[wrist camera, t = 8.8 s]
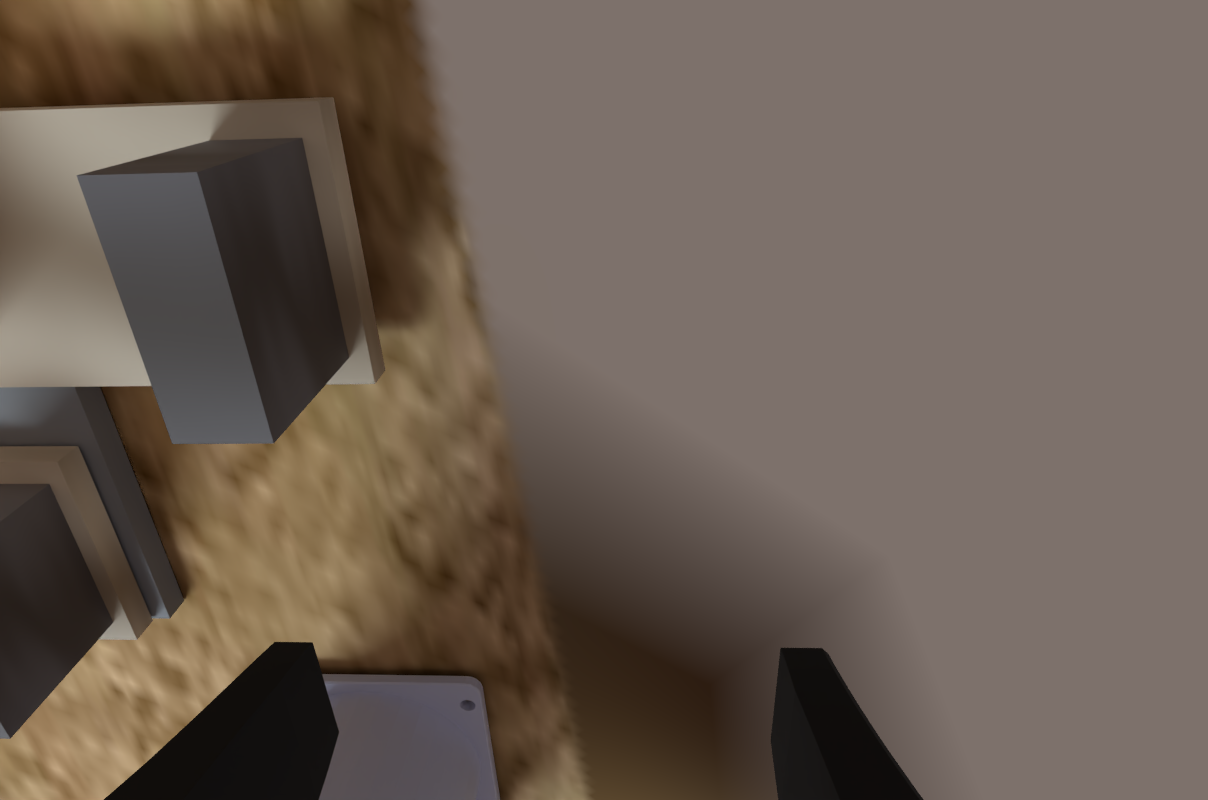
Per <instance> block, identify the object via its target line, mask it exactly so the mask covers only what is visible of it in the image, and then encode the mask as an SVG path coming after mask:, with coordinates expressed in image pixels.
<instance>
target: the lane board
mask: <svg viewBox="0 0 1208 800" xmlns="http://www.w3.org/2000/svg"><path fill="white" fill-rule="evenodd" d="M0 446H78V447H79V449H80V452H81V454H82V456H83V459H84V461H85V463H86V466H87V468H88V470H89V473H90V475H91V477H92V480H93V482H94V484H95V487H96V489H97V491H98V494H99V496H100V498H101V501H102V503H103V505H104V508H105V510H106V512H107V515H108V517H109V519H110V522H111V524H112V526H113V529H114V531H115V533H116V536H117V538H118V540H119V543H120V545H121V547H122V550H123V552H124V554H125V557H126V559H127V561H128V564H129V566H130V568H131V571H132V573H133V576H134V578H135V580H136V583H137V585H138V587H139V590H140V592H141V594H142V597H143V599H144V601H145V604H146V606H147V608H148V611H149V613H150V615H151V618H171V616H172V615H173V614H174V613H175V611H176V610H177V609H178V608H179V606H180V605H181V604H182V603H183V601H184V599H183V596H182V594H181V591H180V589H179V586H178V584H177V581H176V579H175V576H174V574H173V571H172V568H171V566H170V563H169V561H168V558H167V556H166V553H165V551H164V548H163V546H162V543H161V541H160V538H159V535H158V533H157V530H156V528H155V525H154V523H153V520H152V518H151V515H150V513H149V510H148V508H147V505H146V502H145V500H144V497H143V495H142V492H141V490H140V487H139V485H138V482H137V480H136V477H135V475H134V472H133V470H132V467H131V464H130V462H129V459H128V457H127V454H126V452H125V449H124V447H123V444H122V442H121V439H120V437H119V434H118V431H117V429H116V426H115V424H114V421H113V419H112V416H111V414H110V411H109V409H108V406H107V404H106V401H105V398H104V396H103V393H102V391H101V388H100V387H0Z"/></svg>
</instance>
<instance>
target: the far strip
mask: <svg viewBox="0 0 1208 800" xmlns="http://www.w3.org/2000/svg"><path fill="white" fill-rule="evenodd" d="M152 621H153V620H152V618H151V615H150V613H149V611H148V608H147V606H146V604H145V601H144V599H143V597H142V594H141V592H140V590H139V587H138V585H137V583H136V580H135V578H134V576H133V573H132V571H131V568H130V566H129V564H128V561H127V559H126V557H125V554H124V552H123V550H122V547H121V545H120V543H119V540H118V538H117V536H116V533H115V531H114V529H113V526H112V524H111V522H110V519H109V517H108V515H107V512H106V510H105V508H104V505H103V503H102V501H101V498H100V496H99V494H98V491H97V489H96V487H95V484H94V482H93V480H92V477H91V475H90V473H89V470H88V468H87V466H86V463H85V461H84V459H83V456H82V454H81V452H80V449H79V447H78V446H0V738H5V739H10V738H11V737H12V736H13V735H14V734H15V733H16V732H17V730H18V729H19V728H20V727H21V726H22V725H23V724H24V723H25V721H26V720H27V719H28V718H29V717H30V716H31V715H32V714H33V712H34V711H35V710H36V709H37V708H38V707H39V706H40V705H41V703H42V702H43V701H44V700H45V699H46V698H47V697H48V696H49V694H50V693H51V692H52V691H53V690H54V689H55V688H56V686H57V685H58V684H59V683H60V682H61V681H62V680H63V679H64V677H65V676H66V675H67V674H68V673H69V672H70V671H71V670H72V668H73V667H74V666H75V665H76V664H77V663H78V662H79V661H80V659H81V658H82V657H83V656H84V655H85V654H86V653H87V652H88V650H89V649H90V648H91V647H92V646H93V645H94V644H95V643H96V641H97V640H98V639H121V640H137V639H138V638H139V637H140V635H141V634H142V633H143V632H144V631H145V629H146V628H147V627H148V626H149V624H150V623H151V622H152Z"/></svg>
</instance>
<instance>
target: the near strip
mask: <svg viewBox="0 0 1208 800" xmlns="http://www.w3.org/2000/svg"><path fill="white" fill-rule="evenodd" d="M384 371H385V366H384V361H383V355H382V350H381V345H380V340H379V334H378V329H377V324H376V318H375V313H374V308H373V303H372V297H371V292H370V287H369V282H368V276H367V271H366V266H365V261H364V255H363V250H362V245H361V239H360V234H359V229H358V224H357V218H356V213H355V208H354V203H353V197H352V192H351V187H350V182H349V176H348V171H347V166H346V160H345V155H344V150H343V145H342V139H341V134H340V129H339V124H338V118H337V113H336V108H335V103H334V97H325V98H294V99H264V100H233V101H203V102H173V103H142V104H112V105H82V106H51V107H21V108H0V387H100V386H152V388H153V391H154V394H155V397H156V399H157V402H158V405H159V408H160V411H161V413H162V416H163V419H164V422H165V425H166V427H167V430H168V433H169V436H170V439H171V441H172V444H245V443H274V442H275V441H276V440H277V439H278V438H279V437H280V436H281V434H282V433H283V432H284V431H285V430H286V429H287V428H288V427H289V425H290V424H291V423H292V422H293V421H294V420H295V419H296V417H297V416H298V415H299V414H300V413H301V412H302V411H303V410H304V408H305V407H306V406H307V405H308V404H309V403H310V402H311V400H312V399H313V398H314V397H315V396H316V395H317V394H318V393H319V391H320V390H321V389H322V388H323V387H324V386H325V385H326V384H375V383H376V382H377V380H378V379H379V378H380V376H381V375H382V374H383V372H384Z"/></svg>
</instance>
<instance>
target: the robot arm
mask: <svg viewBox="0 0 1208 800" xmlns="http://www.w3.org/2000/svg"><path fill="white" fill-rule="evenodd" d="M467 700H469V701H467ZM771 746H772V754H773V762H774V770H775V778H776V785H777V793H778V800H923V798H922V797H921V796H920V794H919V793H918V792H917V790H916V789H915V787H914V786H913V785H912V784H911V782H910V780H909V779H908V778H907V776H906V775H905V773H904V772H903V770H902V769H901V768H900V766H899V765H898V763H897V762H896V761H895V759H894V758H893V756H892V755H891V754H890V752H889V751H888V749H887V748H886V746H885V745H884V743H883V742H882V740H881V739H880V737H879V736H878V734H877V733H876V731H875V730H874V728H873V727H872V725H871V724H870V722H869V721H868V719H867V717H866V716H865V714H864V713H863V711H862V710H861V708H860V707H859V705H858V704H857V702H856V700H855V699H854V697H853V695H852V694H851V692H850V690H849V689H848V687H847V686H846V684H845V682H844V681H843V679H842V677H841V676H840V674H839V672H838V670H837V669H836V667H835V665H834V664H833V662H832V660H831V658H830V656H829V654H828V653H827V652H825V651H824V650H823V649H822V648H781V649H780V659H779V668H778V677H777V687H776V697H775V706H774V716H773V724H772V733H771ZM104 800H500V794H499V788H498V781H497V775H496V768H495V762H494V756H493V749H492V743H491V736H490V730H489V724H488V717H487V711H486V704H485V698H484V692H483V686H482V684H481V682H480V681H478V680H477V679H476V678H474V677H470V676H433V675H361V674H322V672H321V669H320V666H319V662H318V659H317V656H316V652H315V649H314V646H313V643H310V642H274V643H273V644H272V645H271V646H270V647H269V648H268V649H267V650H266V651H265V652H263V653H262V654H261V655H260V656H259V657H258V658H257V659H256V660H255V661H254V662H253V663H252V664H251V665H250V666H249V667H248V668H247V669H246V670H244V671H243V672H242V673H241V674H240V675H239V676H238V677H237V678H236V679H235V680H234V681H233V682H232V683H231V684H230V685H229V686H228V687H227V688H226V689H225V690H223V691H222V692H221V693H220V694H219V695H218V696H217V697H216V698H215V699H214V700H213V701H212V702H211V703H210V704H209V705H208V706H207V707H206V708H205V709H203V710H202V711H201V712H200V713H199V714H198V715H197V716H196V717H195V718H194V719H193V720H192V721H191V722H190V723H189V724H188V725H187V726H185V727H184V728H183V729H182V730H181V731H180V732H179V733H178V734H177V735H176V736H175V737H174V738H172V739H171V740H170V741H169V742H168V743H167V744H166V745H165V746H164V747H163V748H162V749H161V750H159V751H158V752H157V753H156V754H155V755H154V756H153V757H152V758H151V759H150V760H149V761H148V762H147V763H145V764H144V765H143V766H142V767H141V768H140V769H139V770H137V771H136V772H135V773H134V774H133V775H132V776H130V777H129V778H128V779H127V780H126V781H125V782H124V783H122V784H121V785H120V786H119V787H118V788H117V789H116V790H114V791H113V792H112V793H111V794H110V795H109V796H107V797H106V798H105V799H104Z"/></svg>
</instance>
